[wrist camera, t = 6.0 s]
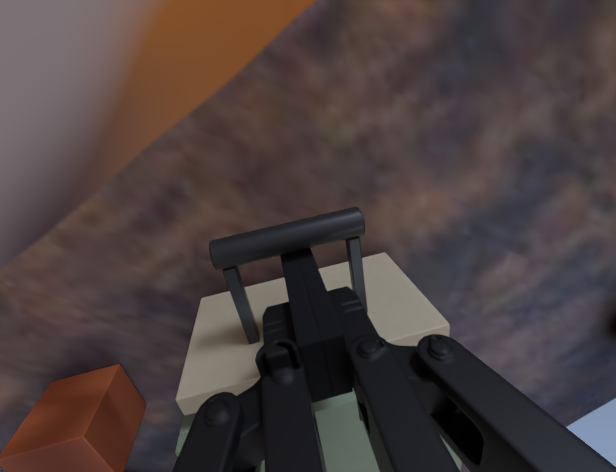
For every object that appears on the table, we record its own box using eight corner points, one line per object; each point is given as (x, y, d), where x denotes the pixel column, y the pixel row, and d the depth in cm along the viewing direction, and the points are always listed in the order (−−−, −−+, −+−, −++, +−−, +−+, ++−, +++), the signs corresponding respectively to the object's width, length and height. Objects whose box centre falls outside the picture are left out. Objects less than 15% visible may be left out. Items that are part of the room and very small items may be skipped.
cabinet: (204, 315, 22) (174, 453, 13) (389, 268, 23) (471, 366, 15) (266, 460, 30) (272, 601, 22) (399, 420, 32) (454, 539, 23)
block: (85, 421, 24) (42, 503, 19) (51, 381, 22) (-7, 461, 17) (147, 404, 25) (120, 480, 20) (119, 363, 22) (82, 436, 17)
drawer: (167, 216, 18) (111, 292, 11) (379, 169, 19) (456, 208, 12) (264, 449, 28) (269, 564, 21) (396, 410, 29) (441, 506, 22)
